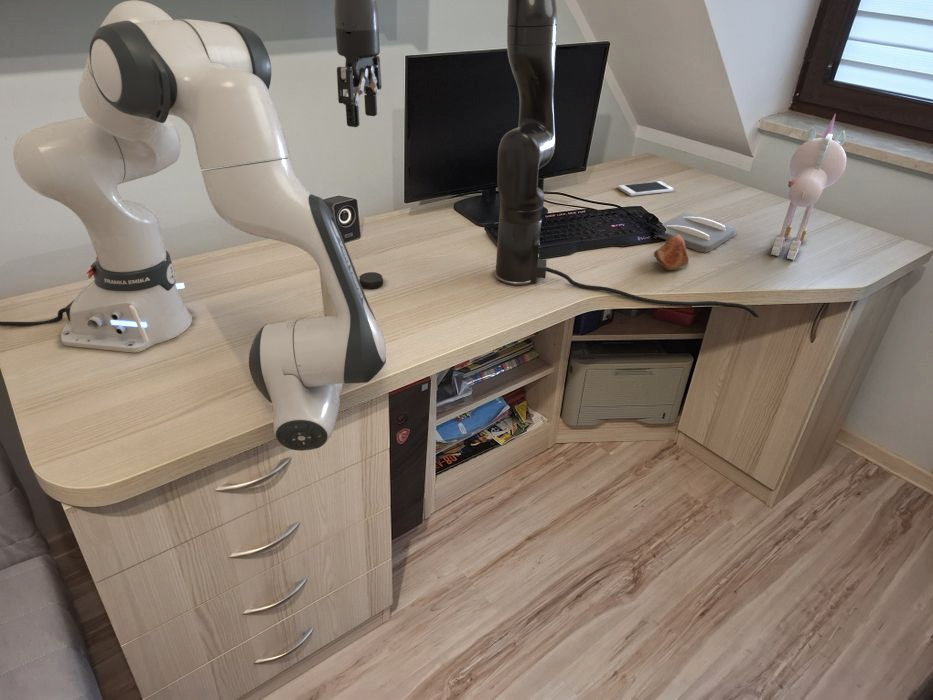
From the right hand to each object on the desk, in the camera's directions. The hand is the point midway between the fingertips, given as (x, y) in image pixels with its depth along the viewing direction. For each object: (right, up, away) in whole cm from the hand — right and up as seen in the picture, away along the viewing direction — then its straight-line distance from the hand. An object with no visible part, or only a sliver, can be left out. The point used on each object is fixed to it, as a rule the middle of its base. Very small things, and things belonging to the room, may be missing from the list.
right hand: (362, 120), depth 120 cm
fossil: (+68, -23, +32) cm, 78 cm away
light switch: (+80, -13, +48) cm, 94 cm away
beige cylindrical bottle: (-6, -38, +5) cm, 39 cm away
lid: (-1, -28, +19) cm, 33 cm away
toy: (+105, -14, +47) cm, 116 cm away
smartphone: (+75, +6, +76) cm, 106 cm away
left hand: (-5, -39, -8) cm, 40 cm away
